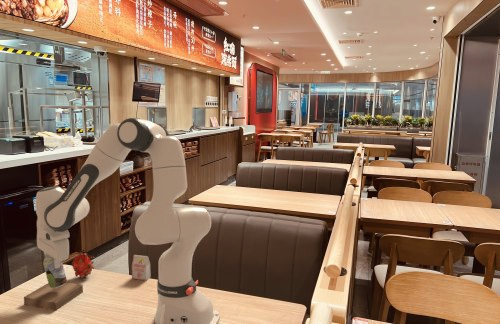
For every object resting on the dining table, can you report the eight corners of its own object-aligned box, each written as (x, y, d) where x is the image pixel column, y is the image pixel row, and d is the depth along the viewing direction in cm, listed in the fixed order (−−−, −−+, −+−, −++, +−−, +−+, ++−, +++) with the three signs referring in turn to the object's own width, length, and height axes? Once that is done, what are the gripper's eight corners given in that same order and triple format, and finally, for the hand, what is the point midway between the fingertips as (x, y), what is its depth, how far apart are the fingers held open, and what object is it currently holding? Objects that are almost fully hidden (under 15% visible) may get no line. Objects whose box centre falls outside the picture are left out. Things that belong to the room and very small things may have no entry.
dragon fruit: (86, 283, 153) (85, 255, 151) (67, 281, 154) (66, 253, 152) (98, 274, 161) (96, 247, 160) (80, 272, 162) (78, 246, 161)
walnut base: (83, 293, 145) (82, 285, 145) (56, 311, 132) (55, 302, 131) (53, 288, 149) (53, 280, 148) (24, 305, 135) (23, 297, 135)
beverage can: (64, 289, 137) (61, 258, 135) (42, 291, 135) (39, 260, 134) (69, 281, 143) (66, 252, 141) (49, 283, 142) (46, 253, 140)
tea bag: (136, 275, 161) (136, 253, 160) (150, 277, 160) (150, 255, 158) (132, 278, 158) (131, 256, 156) (146, 280, 156) (145, 258, 155)
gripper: (31, 225, 141) (33, 259, 143) (53, 238, 128) (55, 276, 130) (48, 222, 146) (50, 255, 148) (71, 233, 132) (73, 270, 134)
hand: (53, 265), depth 139 cm, fingers closed on beverage can, 5 cm apart
